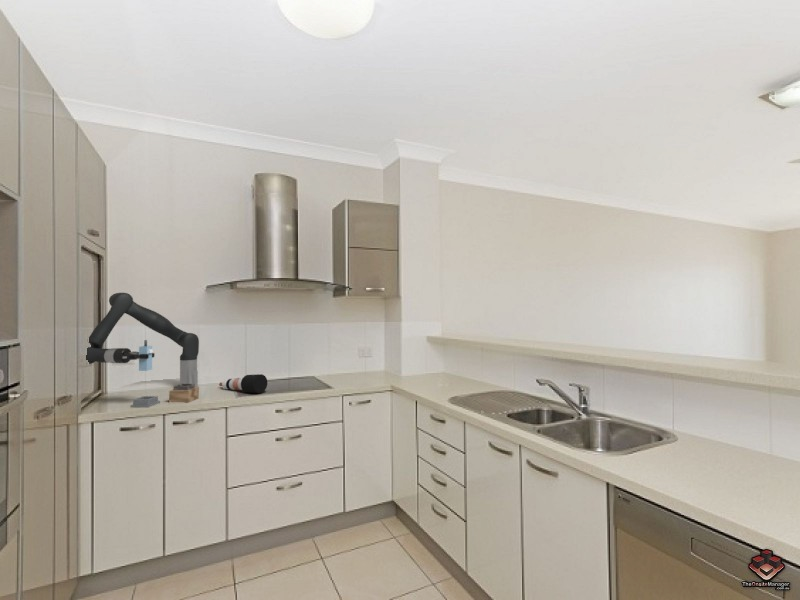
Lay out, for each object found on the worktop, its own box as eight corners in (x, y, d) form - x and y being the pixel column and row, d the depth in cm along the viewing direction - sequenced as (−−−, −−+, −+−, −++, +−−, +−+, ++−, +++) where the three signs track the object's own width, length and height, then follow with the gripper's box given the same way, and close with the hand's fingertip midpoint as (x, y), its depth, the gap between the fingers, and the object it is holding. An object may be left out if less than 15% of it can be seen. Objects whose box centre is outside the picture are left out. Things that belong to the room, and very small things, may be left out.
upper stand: (180, 398, 217) (180, 383, 217) (198, 398, 216) (198, 383, 216) (169, 402, 207) (169, 387, 207) (188, 402, 206) (188, 387, 206)
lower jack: (143, 402, 207) (143, 395, 207) (160, 402, 206) (160, 395, 207) (130, 407, 198) (130, 400, 198) (148, 407, 198) (148, 400, 198)
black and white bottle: (224, 395, 244) (229, 378, 248) (264, 394, 227) (269, 377, 232) (210, 390, 236) (216, 373, 240) (251, 389, 220) (256, 371, 224)
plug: (144, 369, 204) (144, 339, 204) (153, 369, 204) (154, 339, 204) (138, 370, 200) (139, 340, 200) (148, 370, 200) (148, 340, 200)
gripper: (107, 349, 196) (141, 349, 195) (128, 346, 210) (160, 346, 209) (107, 365, 196) (141, 365, 195) (128, 361, 210) (160, 361, 209)
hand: (150, 355), depth 202 cm, fingers closed on plug, 4 cm apart
